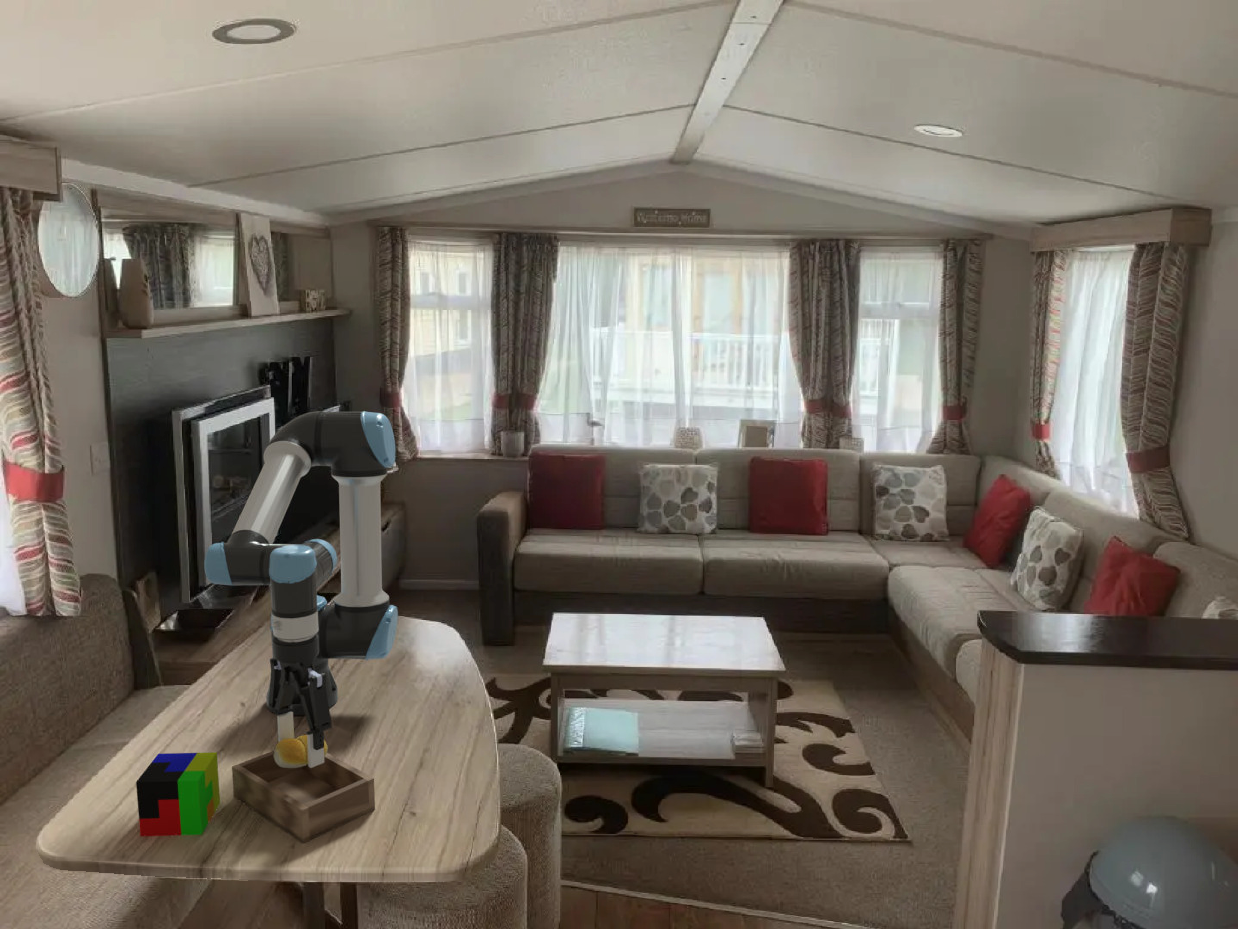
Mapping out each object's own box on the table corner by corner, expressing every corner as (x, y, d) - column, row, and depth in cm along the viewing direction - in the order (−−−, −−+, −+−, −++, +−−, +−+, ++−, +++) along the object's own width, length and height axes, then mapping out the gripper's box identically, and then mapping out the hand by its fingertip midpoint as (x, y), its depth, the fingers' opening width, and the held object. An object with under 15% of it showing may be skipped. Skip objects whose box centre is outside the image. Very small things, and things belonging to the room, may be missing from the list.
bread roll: (333, 761, 175) (332, 740, 175) (281, 774, 170) (280, 752, 170) (319, 742, 182) (318, 722, 181) (269, 755, 177) (268, 734, 176)
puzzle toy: (162, 805, 176) (158, 753, 175) (220, 804, 177) (216, 752, 175) (140, 837, 167) (136, 782, 165) (201, 835, 168) (198, 780, 166)
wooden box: (233, 797, 179) (231, 766, 178) (303, 768, 190) (302, 739, 189) (303, 843, 165) (301, 810, 164) (375, 809, 176) (374, 778, 175)
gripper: (243, 626, 176) (249, 745, 180) (312, 656, 162) (317, 784, 166) (281, 616, 182) (286, 731, 186) (350, 644, 168) (355, 768, 172)
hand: (301, 756), depth 176 cm, fingers closed on bread roll, 9 cm apart
